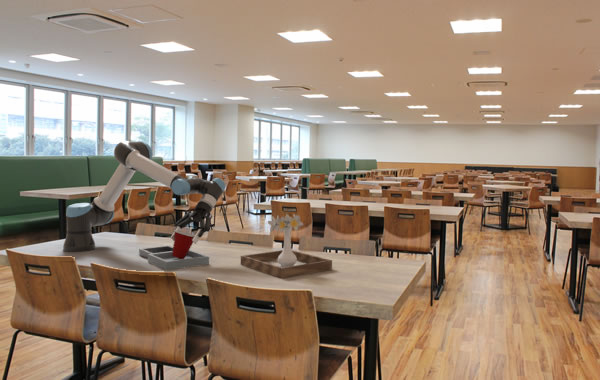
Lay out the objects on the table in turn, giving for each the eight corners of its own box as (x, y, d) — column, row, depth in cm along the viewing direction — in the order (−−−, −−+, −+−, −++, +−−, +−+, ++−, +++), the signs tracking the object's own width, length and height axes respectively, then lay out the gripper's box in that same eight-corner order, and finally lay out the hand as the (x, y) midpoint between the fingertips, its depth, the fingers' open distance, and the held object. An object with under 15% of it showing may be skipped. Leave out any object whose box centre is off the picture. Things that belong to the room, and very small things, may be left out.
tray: (148, 261, 227) (148, 254, 227) (188, 256, 240) (188, 249, 239) (166, 270, 211) (166, 262, 211) (209, 264, 224) (209, 256, 223)
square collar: (139, 254, 242) (139, 248, 242) (168, 251, 252) (168, 245, 251) (151, 260, 230) (151, 254, 230) (182, 256, 240) (182, 250, 239)
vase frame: (240, 264, 224) (240, 255, 223) (288, 257, 241) (288, 249, 240) (281, 278, 199) (282, 268, 199) (331, 269, 216) (332, 260, 216)
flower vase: (276, 262, 230) (276, 211, 228) (309, 266, 221) (310, 214, 219) (261, 267, 219) (261, 214, 217) (295, 272, 210) (296, 216, 209)
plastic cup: (180, 254, 237) (189, 231, 237) (193, 262, 229) (202, 237, 229) (161, 251, 229) (170, 227, 229) (174, 259, 221) (183, 233, 221)
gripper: (229, 212, 234) (207, 248, 222) (190, 208, 247) (168, 242, 235) (221, 202, 229) (199, 238, 217) (182, 198, 242) (159, 233, 230)
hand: (183, 240), depth 226 cm, fingers open, 13 cm apart
